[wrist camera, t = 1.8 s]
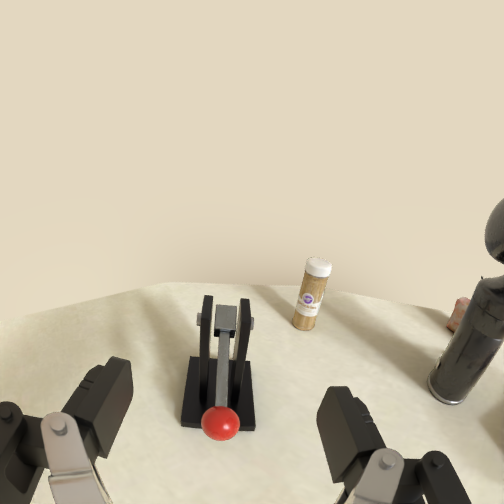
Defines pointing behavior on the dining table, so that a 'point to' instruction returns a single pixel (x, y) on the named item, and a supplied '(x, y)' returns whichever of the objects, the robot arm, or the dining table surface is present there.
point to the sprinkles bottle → (311, 292)
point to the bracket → (205, 372)
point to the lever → (222, 380)
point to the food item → (458, 313)
